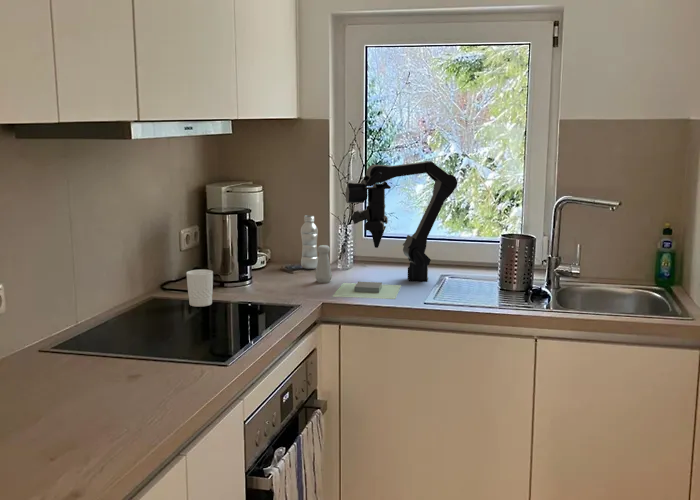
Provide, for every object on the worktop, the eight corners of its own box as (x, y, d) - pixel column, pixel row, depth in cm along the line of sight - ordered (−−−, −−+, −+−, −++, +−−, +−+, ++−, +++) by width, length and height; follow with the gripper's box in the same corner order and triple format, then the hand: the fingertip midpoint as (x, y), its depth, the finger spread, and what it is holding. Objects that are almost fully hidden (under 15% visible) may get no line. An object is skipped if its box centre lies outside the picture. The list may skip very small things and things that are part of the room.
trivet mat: (401, 286, 254) (401, 285, 254) (395, 300, 235) (395, 299, 235) (343, 284, 257) (343, 283, 257) (332, 297, 238) (332, 296, 238)
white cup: (185, 302, 232) (184, 270, 230) (210, 300, 235) (209, 268, 233) (190, 308, 224) (189, 275, 223) (216, 305, 228) (215, 273, 226)
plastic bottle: (318, 270, 280) (318, 217, 277) (300, 270, 280) (299, 217, 277) (319, 267, 287) (318, 215, 283) (301, 267, 287) (301, 215, 283)
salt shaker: (331, 284, 257) (331, 247, 254) (314, 284, 257) (314, 247, 254) (332, 281, 262) (332, 244, 260) (315, 280, 262) (315, 244, 260)
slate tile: (382, 282, 250) (379, 287, 242) (382, 287, 250) (378, 293, 243) (358, 281, 251) (354, 286, 244) (358, 286, 252) (354, 292, 244)
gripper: (356, 199, 265) (356, 242, 268) (349, 205, 247) (349, 252, 250) (387, 199, 264) (387, 243, 266) (382, 205, 245) (383, 252, 248)
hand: (376, 247), depth 258 cm, fingers closed
